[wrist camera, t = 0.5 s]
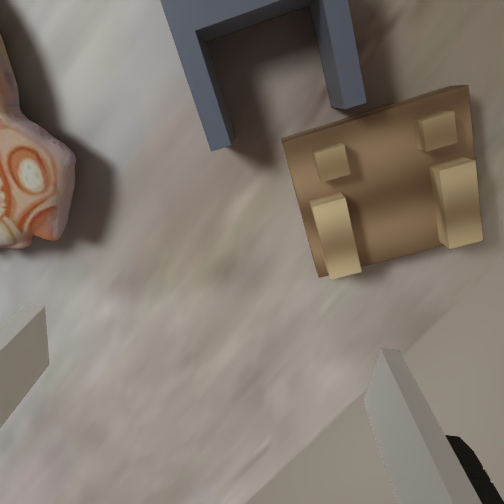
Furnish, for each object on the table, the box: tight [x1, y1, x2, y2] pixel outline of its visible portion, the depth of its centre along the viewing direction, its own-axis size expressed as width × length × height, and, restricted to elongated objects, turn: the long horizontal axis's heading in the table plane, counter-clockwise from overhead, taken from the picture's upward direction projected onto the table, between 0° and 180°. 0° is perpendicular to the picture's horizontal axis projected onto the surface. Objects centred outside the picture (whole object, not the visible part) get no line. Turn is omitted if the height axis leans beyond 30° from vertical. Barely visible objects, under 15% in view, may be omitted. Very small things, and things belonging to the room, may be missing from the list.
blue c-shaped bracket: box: [161, 0, 367, 151], centre depth 30 cm, size 10×12×6 cm
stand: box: [281, 85, 483, 280], centre depth 34 cm, size 13×15×5 cm
